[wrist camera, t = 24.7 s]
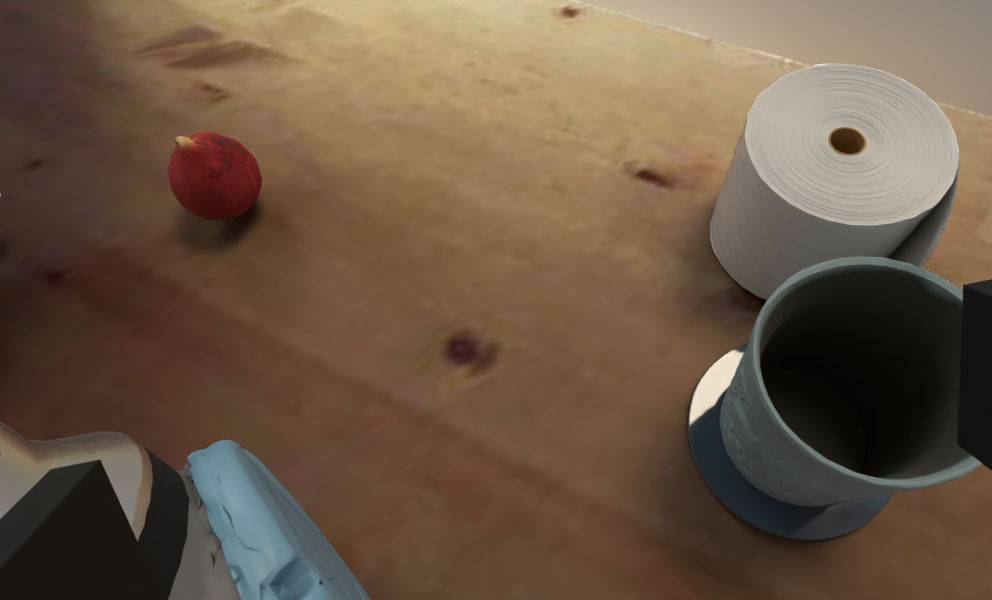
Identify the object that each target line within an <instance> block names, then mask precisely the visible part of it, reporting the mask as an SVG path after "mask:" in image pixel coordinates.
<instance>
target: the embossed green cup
mask: <svg viewBox="0 0 992 600" xmlns="http://www.w3.org/2000/svg"><path fill="white" fill-rule="evenodd" d="M962 305H963V291H961V290H960V289H959V288H957V287H956V286H954V285H953V284H951V283H950V282H948V281H946V280H945V279H943V278H941V277H939V276H937V275H936V274H934V273H932V272H930V271H927V270H925V269H922V268H919V267H917V266H914V265H912V264H909V263H905V262H900V261H896V260H892V259H888V258H880V257H860V256H855V257H846V258H838V259H834V260H830V261H826V262H823V263H819V264H816V265H813V266H811V267H808V268H806V269H803V270H801V271H799V272H798V273H796V274H794V275H793V276H791V277H790V278H788V279H787V280H786V281H785V282H784V283H783V284H782V285H780V286H779V287H778V288H777V289H776V290H775V292H774V293H773V294H772V295H771V296H770V297H769V299H768V300H767V301H766V303H765V304H764V306H763V307H762V309H761V311H760V313H759V315H758V317H757V320H756V322H755V324H754V327H753V330H752V333H751V336H750V339H749V342H748V346H747V349H746V351H745V353H744V354H743V356H742V358H741V360H740V362H739V365H738V367H737V369H736V372H735V375H734V377H733V379H732V381H731V383H730V385H729V388H728V390H727V392H726V394H725V397H724V399H723V403H722V406H721V414H720V428H721V434H722V439H723V442H724V446H725V448H726V451H727V453H728V455H729V457H730V459H731V461H732V462H733V464H734V465H735V467H736V468H737V470H738V471H739V472H740V473H741V474H742V475H743V477H744V478H745V479H746V480H747V481H748V482H750V483H751V484H752V485H753V486H754V487H755V488H757V489H758V490H760V491H762V492H763V493H765V494H766V495H768V496H770V497H772V498H774V499H777V500H779V501H782V502H785V503H788V504H793V505H798V506H808V507H816V506H825V505H830V504H834V503H838V502H844V501H851V500H859V499H864V498H867V497H877V496H883V495H888V494H893V493H897V492H905V491H911V490H917V489H923V488H930V487H933V486H937V485H940V484H944V483H947V482H950V481H953V480H956V479H958V478H960V477H963V476H965V475H967V474H968V473H970V472H971V471H973V470H974V469H976V468H977V467H979V466H980V465H982V464H983V463H981V462H980V461H979V460H977V459H976V458H975V457H973V456H972V455H971V454H969V453H968V452H967V451H965V450H964V449H963V448H961V447H960V446H959V445H957V428H958V403H959V379H960V354H961V330H962Z"/></svg>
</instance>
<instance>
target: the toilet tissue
mask: <svg viewBox="0 0 992 600" xmlns="http://www.w3.org/2000/svg"><path fill="white" fill-rule="evenodd" d="M958 172H959V147H958V143H957V139H956V134H955V132H954V130H953V128H952V126H951V124H950V122H949V120H948V118H947V117H946V115H945V114H944V113H943V111H942V110H941V109H940V108H939V106H938V105H937V104H936V103H935V102H934V101H933V100H932V99H931V98H929V97H928V96H927V95H926V94H925V93H924V92H923V91H921V90H920V89H918V88H917V87H915V86H913V85H912V84H910V83H909V82H907V81H905V80H903V79H901V78H899V77H896V76H894V75H892V74H890V73H888V72H884V71H881V70H877V69H874V68H870V67H866V66H859V65H852V64H817V65H814V66H810V67H807V68H803V69H800V70H797V71H793V72H790V73H787V74H784V75H783V76H782V77H780V78H779V79H777V80H776V81H775V82H774V83H772V84H771V85H770V86H768V87H767V88H766V89H765V90H763V91H762V92H761V93H760V94H759V95H758V97H757V98H756V100H755V102H754V104H753V106H752V108H751V110H750V111H749V112H748V114H747V116H746V121H745V125H744V128H743V131H742V134H741V136H740V137H739V139H738V142H737V147H736V148H735V150H734V155H733V158H732V160H731V162H730V164H729V168H728V170H727V175H726V178H725V181H724V183H723V186H722V189H721V192H720V194H719V197H718V199H717V202H716V205H715V208H714V211H713V215H712V219H711V222H710V225H709V226H710V240H711V244H712V248H713V251H714V253H715V255H716V257H717V258H718V260H719V261H720V263H721V265H722V266H723V267H724V269H725V270H726V271H727V273H728V274H729V275H730V276H731V277H732V278H733V279H734V280H735V281H736V282H737V283H739V284H740V285H741V286H742V287H743V288H745V289H746V290H748V291H750V292H751V293H753V294H755V295H756V296H758V297H760V298H763V299H765V300H768V299H769V297H770V296H771V295H772V294H773V293H774V292H775V290H776V289H777V288H778V287H779V286H780V285H782V284H783V283H784V282H785V281H786V280H787V279H788V278H790V277H791V276H793V275H794V274H796V273H798V272H799V271H801V270H803V269H806V268H808V267H811V266H813V265H816V264H819V263H823V262H826V261H830V260H834V259H838V258H846V257H855V256H860V257H880V258H888V259H892V260H896V261H900V262H905V263H909V264H912V265H914V266H917V267H919V268H922V267H923V266H924V264H925V262H926V261H927V259H928V257H929V256H930V254H931V253H932V252H933V250H934V249H935V247H936V245H937V243H938V241H939V239H940V236H941V234H942V232H943V230H944V228H945V223H946V220H947V219H948V217H949V216H950V214H951V211H952V208H953V203H954V197H955V192H956V186H957V181H958Z"/></svg>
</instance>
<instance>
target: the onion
mask: <svg viewBox="0 0 992 600" xmlns="http://www.w3.org/2000/svg"><path fill="white" fill-rule="evenodd" d="M175 143H176V144H177V146H176V148H175V149H174V151H173V153H172V154H171V158H170V162H169V166H168V176H169V181H170V185H171V189H172V192H173V193H174V195H175V197H176V198H177V200H178V201H179V202H180V203H181V204H182V205H183V207H184V208H185V209H186V210H188V211H189V212H191V213H192V214H195V215H197V216H199V217H201V218H204V219H206V220H229V219H232V218H235V217H239V216H240V215H242V214H243V213H245V212H246V211H248V210H249V208H250V207H251V206H252V205H253V203H254V202H255V201H256V200H257V198H258V195H259V191H260V188H261V181H262V178H261V174H260V170H259V166H258V164H257V162H256V159H255V157H254V156H253V155H252V154H251V153H250V152H249V151H248V150H247V149H246V148H245V147H244V146H243V145H242V144H240V143H239V142H238V141H236V140H234V139H232V138H228V137H224V136H221V135H218V134H215V133H199V134H194V135H192V136H190V137H185V136H177V137H176V138H175Z"/></svg>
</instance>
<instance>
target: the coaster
mask: <svg viewBox="0 0 992 600" xmlns="http://www.w3.org/2000/svg"><path fill="white" fill-rule="evenodd" d="M747 346H748V344H744V345H742V346H740V347H737V348H735V349H733V350H731V351H729V352H728V353H726V354H724V355H723V356H722V357H720V358H719V359H718V360H717V361H715V362H714V363H713V364H712V365H711V366H710V367H709V369H708V370H707V371H706V372H705V373H704V375H703V376H702V378H701V379H700V381H699V382H698V384H697V386H696V388H695V390H694V392H693V395H692V398H691V401H690V404H689V409H688V415H687V436H688V444H689V448H690V452H691V456H692V458H693V461H694V464H695V466H696V469H697V471H698V472H699V474H700V476H701V478H702V480H703V482H704V483H705V484H706V486H707V487H708V489H709V490H710V492H711V493H712V494H713V495H714V496H715V497H716V499H717V500H718V501H719V502H720V503H721V504H722V505H723V506H724V507H725V508H726V509H728V510H729V511H730V512H731V513H732V514H733V515H735V516H736V517H738V518H739V519H740V520H742V521H743V522H745V523H747V524H749V525H750V526H752V527H754V528H756V529H758V530H760V531H763V532H765V533H768V534H770V535H773V536H777V537H781V538H784V539H791V540H798V541H819V540H827V539H831V538H835V537H839V536H842V535H846V534H848V533H850V532H852V531H855V530H857V529H859V528H860V527H862V526H864V525H865V524H867V523H868V522H870V521H871V520H872V519H873V518H874V517H875V516H876V515H877V514H879V513H880V511H881V510H882V509H883V508H884V506H885V505H886V504H887V503H888V501H889V499H890V497H891V495H892V494H888V495H883V496H877V497H867V498H864V499H859V500H851V501H844V502H838V503H834V504H830V505H825V506H816V507H808V506H798V505H793V504H788V503H785V502H782V501H779V500H777V499H774V498H772V497H770V496H768V495H766V494H765V493H763V492H762V491H760V490H758V489H757V488H755V487H754V486H753V485H752V484H751V483H750V482H748V481H747V480H746V479H745V478H744V477H743V475H742V474H741V473H740V472H739V471H738V470H737V468H736V467H735V465H734V464H733V462H732V461H731V459H730V457H729V455H728V453H727V451H726V448H725V446H724V442H723V439H722V434H721V428H720V414H721V406H722V403H723V399H724V397H725V394H726V392H727V390H728V388H729V385H730V383H731V381H732V379H733V377H734V375H735V372H736V369H737V367H738V365H739V362H740V360H741V358H742V356H743V354H744V353H745V351H746V349H747Z"/></svg>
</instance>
